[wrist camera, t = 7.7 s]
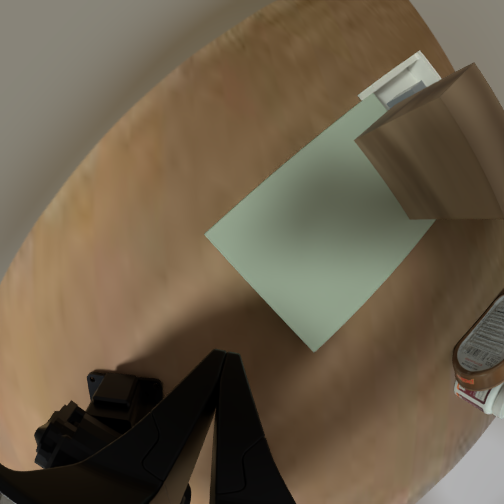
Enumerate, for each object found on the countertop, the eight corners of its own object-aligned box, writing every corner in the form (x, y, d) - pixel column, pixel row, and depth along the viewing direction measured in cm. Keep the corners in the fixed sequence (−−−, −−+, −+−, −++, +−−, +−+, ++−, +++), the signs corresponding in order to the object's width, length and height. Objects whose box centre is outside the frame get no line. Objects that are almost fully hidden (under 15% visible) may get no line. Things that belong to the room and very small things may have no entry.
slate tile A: (439, 128, 20) (448, 117, 20) (411, 89, 20) (421, 80, 20) (411, 138, 24) (421, 128, 24) (386, 103, 24) (397, 94, 24)
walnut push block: (409, 219, 23) (505, 219, 13) (353, 140, 21) (439, 97, 12) (443, 178, 23) (529, 165, 13) (394, 105, 22) (474, 62, 12)
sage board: (305, 343, 24) (314, 352, 22) (204, 234, 22) (204, 234, 20) (434, 204, 25) (448, 203, 24) (361, 100, 23) (372, 92, 22)
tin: (441, 376, 28) (490, 405, 19) (436, 358, 27) (489, 387, 19) (508, 298, 29) (555, 309, 21) (505, 279, 29) (554, 288, 20)
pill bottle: (476, 381, 29) (519, 404, 21) (453, 401, 29) (495, 429, 20) (477, 354, 29) (523, 375, 20) (452, 375, 28) (500, 402, 20)
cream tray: (437, 209, 26) (458, 208, 23) (357, 95, 23) (374, 82, 20) (471, 162, 26) (490, 158, 23) (403, 61, 24) (419, 50, 21)
